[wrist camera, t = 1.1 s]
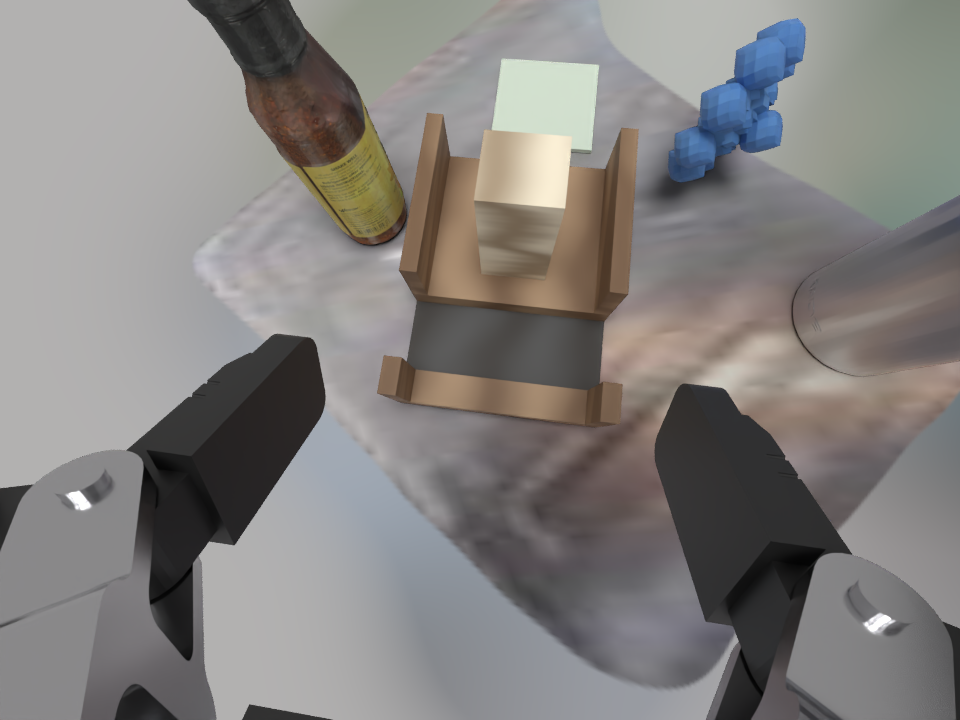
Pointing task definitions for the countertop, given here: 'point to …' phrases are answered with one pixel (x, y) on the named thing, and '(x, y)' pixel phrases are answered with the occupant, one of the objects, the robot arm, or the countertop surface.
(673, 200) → the countertop surface
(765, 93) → the grapes
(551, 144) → the block
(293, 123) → the sauce bottle
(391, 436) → the countertop surface
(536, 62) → the mat
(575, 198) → the wooden holder
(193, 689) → the robot arm
